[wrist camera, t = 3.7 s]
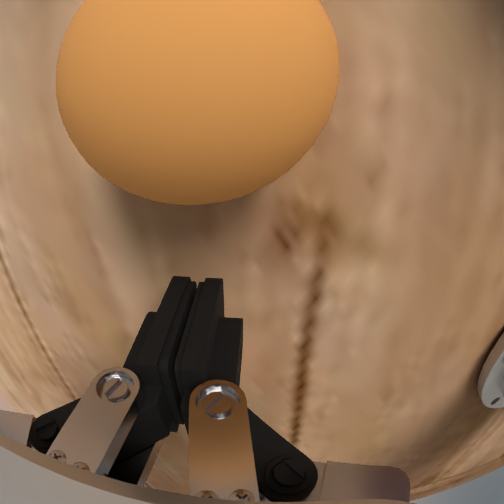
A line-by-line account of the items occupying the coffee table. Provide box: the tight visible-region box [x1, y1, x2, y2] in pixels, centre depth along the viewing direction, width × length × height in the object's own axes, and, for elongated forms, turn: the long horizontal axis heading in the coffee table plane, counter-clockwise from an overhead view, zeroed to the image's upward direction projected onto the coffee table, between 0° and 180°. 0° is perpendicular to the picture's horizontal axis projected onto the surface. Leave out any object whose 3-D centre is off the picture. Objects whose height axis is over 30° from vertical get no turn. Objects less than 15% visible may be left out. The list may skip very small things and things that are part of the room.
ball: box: [56, 0, 339, 205], centre depth 6 cm, size 6×6×6 cm
